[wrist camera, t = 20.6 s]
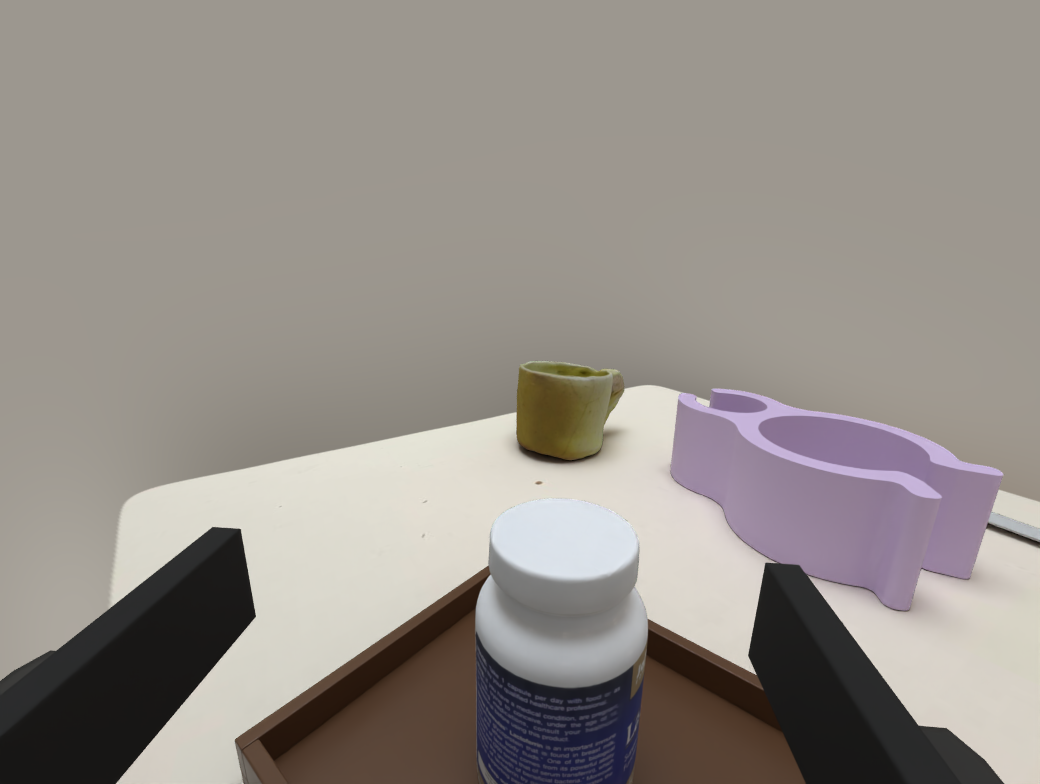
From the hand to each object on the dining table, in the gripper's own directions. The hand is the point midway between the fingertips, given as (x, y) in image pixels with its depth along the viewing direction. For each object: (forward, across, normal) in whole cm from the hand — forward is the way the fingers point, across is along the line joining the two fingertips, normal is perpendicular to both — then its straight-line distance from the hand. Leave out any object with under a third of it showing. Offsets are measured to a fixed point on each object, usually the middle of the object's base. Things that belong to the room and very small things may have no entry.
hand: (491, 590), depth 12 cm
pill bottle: (+3, +2, -10) cm, 11 cm away
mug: (+36, +3, -11) cm, 38 cm away
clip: (+24, +19, -11) cm, 33 cm away
